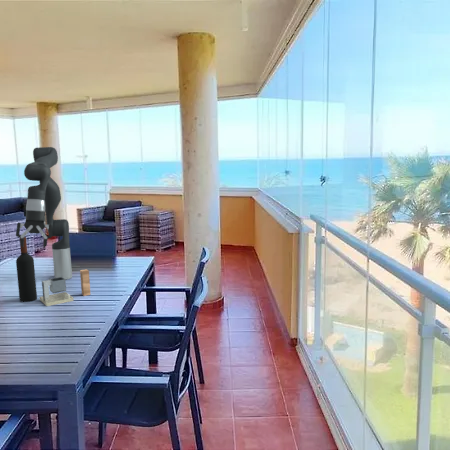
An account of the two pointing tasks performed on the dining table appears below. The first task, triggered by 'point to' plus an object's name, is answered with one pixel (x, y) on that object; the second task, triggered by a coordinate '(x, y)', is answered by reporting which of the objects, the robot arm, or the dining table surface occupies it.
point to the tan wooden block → (85, 282)
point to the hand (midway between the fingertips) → (33, 247)
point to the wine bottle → (26, 275)
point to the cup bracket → (55, 287)
